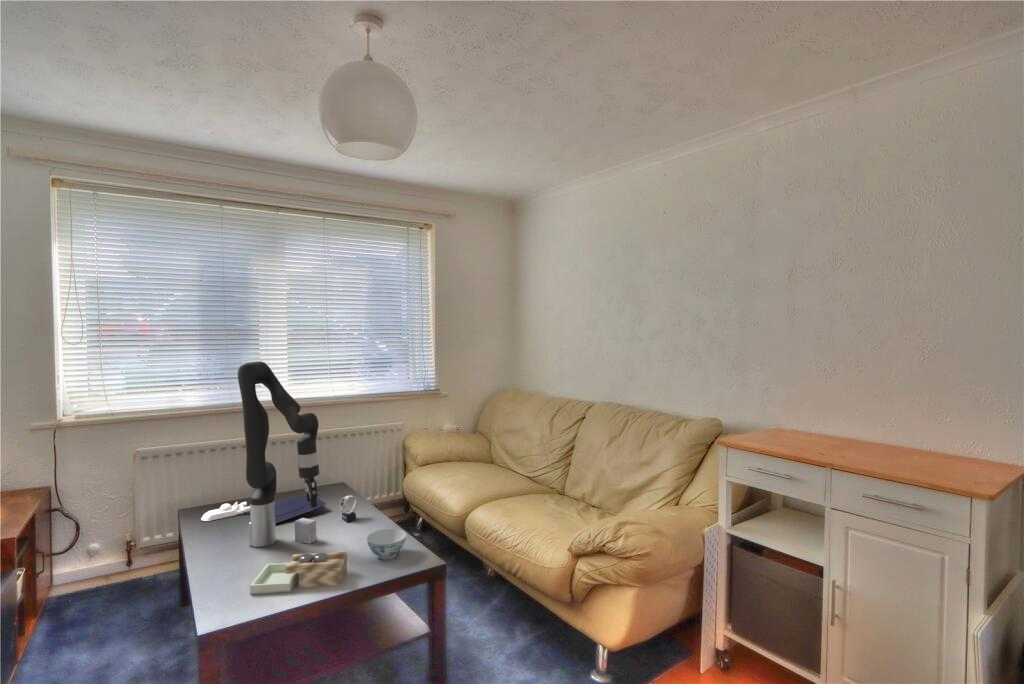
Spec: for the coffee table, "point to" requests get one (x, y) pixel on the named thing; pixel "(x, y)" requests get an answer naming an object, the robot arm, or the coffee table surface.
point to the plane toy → (226, 511)
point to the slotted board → (319, 570)
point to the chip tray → (274, 580)
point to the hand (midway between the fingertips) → (312, 504)
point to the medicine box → (305, 530)
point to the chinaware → (386, 542)
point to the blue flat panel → (294, 508)
